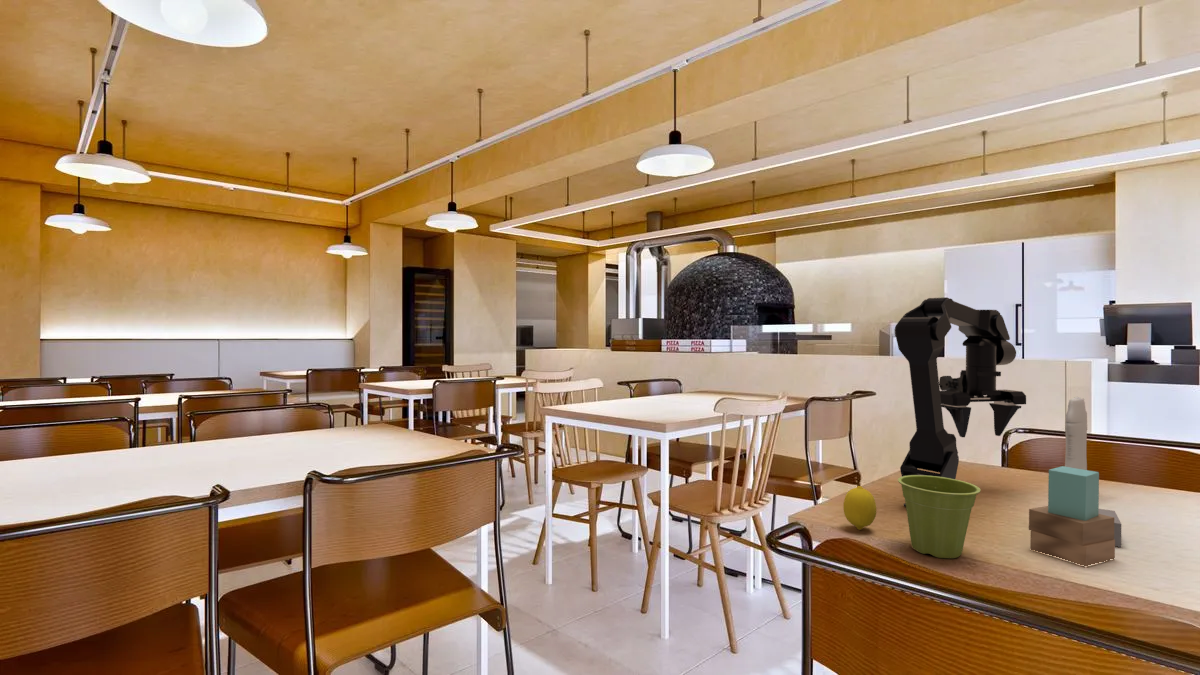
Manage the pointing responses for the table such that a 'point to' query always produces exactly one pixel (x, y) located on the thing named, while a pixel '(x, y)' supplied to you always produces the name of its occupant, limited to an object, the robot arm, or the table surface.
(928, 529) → the plant pot
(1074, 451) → the tall pale column
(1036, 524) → the tower upper
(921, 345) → the robot arm
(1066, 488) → the teal block
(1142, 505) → the table surface
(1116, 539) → the grey flat square block
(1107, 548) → the tower lower
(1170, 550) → the table surface
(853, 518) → the lemon
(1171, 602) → the table surface
